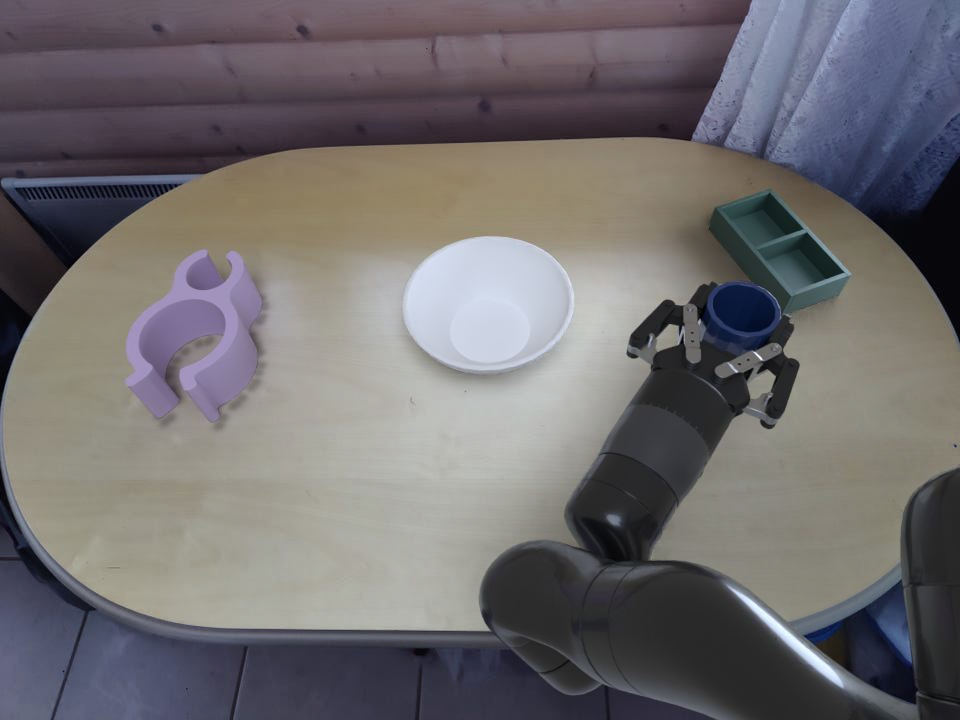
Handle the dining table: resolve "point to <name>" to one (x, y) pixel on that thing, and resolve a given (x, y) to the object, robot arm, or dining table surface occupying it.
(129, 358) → the clip
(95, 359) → the dining table surface
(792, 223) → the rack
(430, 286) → the bowl
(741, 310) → the cup
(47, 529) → the dining table surface
